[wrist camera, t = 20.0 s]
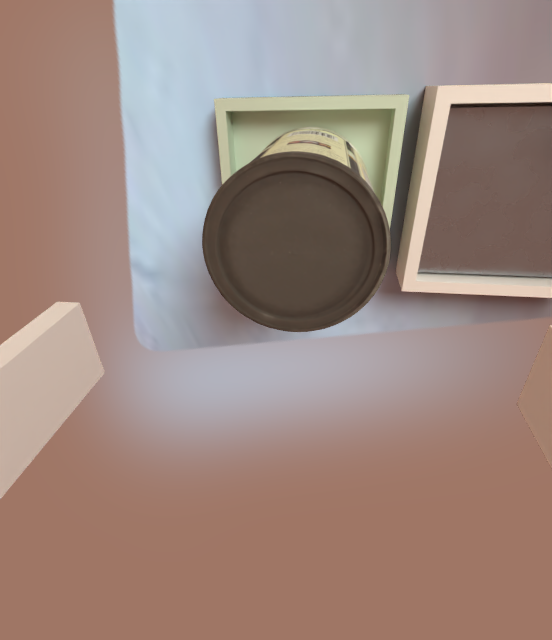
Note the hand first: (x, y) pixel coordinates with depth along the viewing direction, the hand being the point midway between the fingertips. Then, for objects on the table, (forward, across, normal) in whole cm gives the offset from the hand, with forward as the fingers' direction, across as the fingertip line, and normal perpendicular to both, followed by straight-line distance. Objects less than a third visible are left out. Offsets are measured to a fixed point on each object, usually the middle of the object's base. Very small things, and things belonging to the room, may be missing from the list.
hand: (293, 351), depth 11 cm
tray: (+25, +2, +1) cm, 25 cm away
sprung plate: (+23, -15, +1) cm, 28 cm away
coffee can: (+25, +1, +1) cm, 25 cm away
